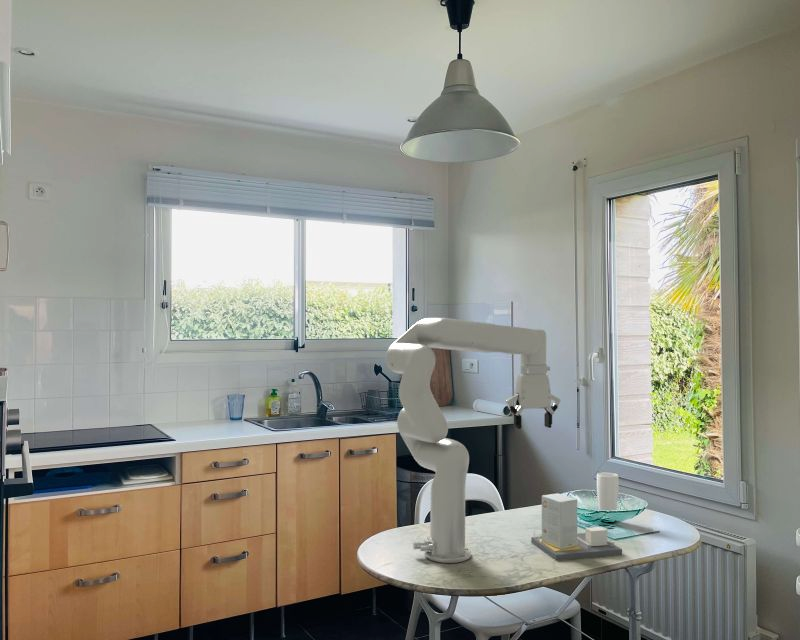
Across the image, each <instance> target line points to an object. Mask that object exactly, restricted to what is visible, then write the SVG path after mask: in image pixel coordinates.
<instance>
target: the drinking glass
mask: <svg viewBox="0 0 800 640" xmlns="http://www.w3.org/2000/svg"><path fill="white" fill-rule="evenodd" d="M619 478H620V477H619V474H618V473H614V472H606V471H605V472H604V471H602V472H597V473H596V494H597V496H596V497H597V505H598V506H597V507H598V510H599V509H600V510H617V508H618V499H619V498H618V497H619V488H620V486H619V484H620V482H619V481H620V480H619ZM617 511H618V510H617Z"/></svg>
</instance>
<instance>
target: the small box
mask: <svg viewBox="0 0 800 640" xmlns="http://www.w3.org/2000/svg"><path fill="white" fill-rule="evenodd" d="M541 534H542V541H543V542H545V543H547V544H550V545H552V546H554V547H557V548H559V549H565V548H569V547H574V546H577V534H578V499H576V498H573V497H572V496H571V497H570V496H568V495H564V494H561V493H550V494H543V495H541Z"/></svg>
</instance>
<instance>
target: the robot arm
mask: <svg viewBox="0 0 800 640" xmlns="http://www.w3.org/2000/svg"><path fill="white" fill-rule="evenodd" d="M433 349H441V350H450V351H451V350H452V351H461V352H471V353H483V354H487V353H503V354H507V355H520V374H517V378H516V383H515V388H514V389H515V390H514V395H513V396H510V397H509V398H507V399H506V400H505V403H506V406H507V407H508V410H509V411H510V413H512V415H513V425H514V427H515V429H518V430H521V429H522V415H521V413H522V412H523V411H524V410H534V409H536V410H537V409H538V410H539V409H541V410H542V409H543V410H544V412H545V413H544V427H545V428H548V429H550V428H552V425H553V415H554V414H555V412H556V411H557V410H558V406H559V404H560V403H561V399H560V398H559V397H557V396H556V395H553V394H552V393H551V383H550V378H549V375H547V374H548V373H547V372H549V371H551V366H548V364H547V333H546V331H545V330H544V329H538V328H536V329H533V328H529V327H527V328H525V327H520V326H519V327H517V326H511V325H509V326H508V325H501V324H495V323H487V322H480V321H473V320H466V319H465V320H463V319H458V318H457V319H456V318H448V317H425V318H423V319H421V320H419V321H417V322H416V323H415V324H413V325H412V326H411V327H410V328H409V329H408V330H407V331H405V332H404V333H403V334H402V335H401V336H400V337H398V338H397V339H396V340H395V341H394V342H393V343H391V345H390V346H389V347H388V348H387V350H386V352H385V358H384V359H385V364H386V366H387V368H388V369H389V370H390V371H391V372H393V373H395V374H399V375H402V376H401V378H400V383H399V386H398V388H399V389H398V397H399V401H400V403H401V406H402V407H403V408H402V409H400V411H399V412H398V416H397V421H396V423H397V424H396V425H397V429H398V433H399V434H400V436H401V438H402V440H403V442H404V444H405V445H406V446H407V448H408V450H409V452H410V453H411V456H412V457H413V459H414V460H415V462H417V464H418V465H419V466H420V467H423V468H424V469H427V470H431V471H432V472H435V474H434V476H433V477H434V478H433V479H432V482H431V486H430V492H429V493H430V494H429V495H430V515H429V517H430V521H429V522H430V523H429V524H430V525H429V526H430V527H429V528H430V529H429V530H430V531H429V532H430V535H429V536H427V537H426V539H425V540H423V541H413V542H412V548H413V550H420V552H424V556H425V557H426V558H427V559H428V560H430V561H433V562H437V563H445V564H453V563H454V564H456V563H461V562H464V561H467V560H469V559H470V558H471V557H472V555H471V553H472V552H471V550H470V549H469V548H468V547H466V483H467V475H468V471H469V464H470V454H469V451H468V449H467V448H466V446H465V445H464V444H463V443H461V442H459V441H458V440H455V439H452V438H447V435H448V431H449V426H448V425H449V424H448V421H447V419H446V417H445V416H444V414H443V412H442V410H441V408H440V407H439V403H438V402H437V401H436V399H435V397H434V395H433V393H432V389H431V385H430V384H431V378H432V375H433V372H434V369H435V366H436V355H435V352H434V351H433ZM552 401H553V403H552ZM513 403H514V405H513ZM551 403H552V405H551ZM514 406H515V407H514Z"/></svg>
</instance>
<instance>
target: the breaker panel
mask: <svg viewBox="0 0 800 640" xmlns="http://www.w3.org/2000/svg"><path fill="white" fill-rule="evenodd" d="M530 541H531V542H530V543H531V544H533V545H534V546H536V547H537V548H538V549H540V550H541V551H542V552H543V553H545V554H547V556H549V557H551V559H553V560H554V559H555V560H554V561H557V560H558V561H567V559H568V560H575V559H576V560H578V558H579V559H588V558H598V557H609V556H611V557H612V556H622V555H623V549H622V547H620V546H618V545H617V544H615V542H613V541H612V540H609V538H607V545H602V546H591V545H590V544H589V543H587V542H586V532H580V533H578V532H577V546H574V547H569V548H565V549H559V548H557V547H554V546H552V545H550V544H547V543H545V542H543V541H542V533H541V534H540V535H539V536H533V537H532V536H531V540H530Z"/></svg>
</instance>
